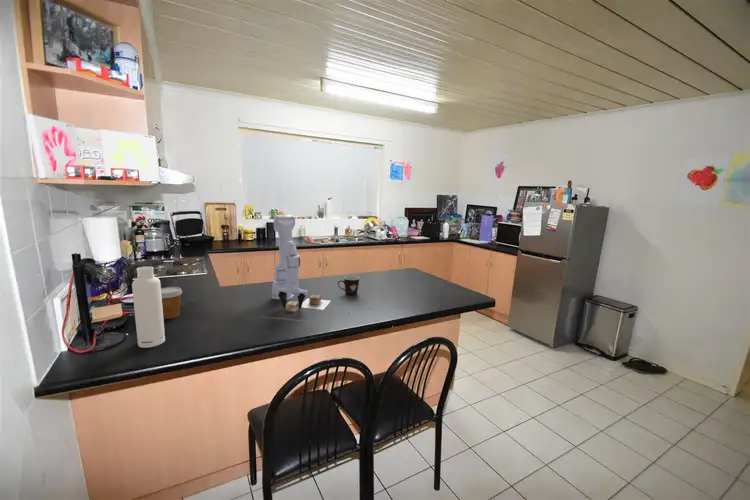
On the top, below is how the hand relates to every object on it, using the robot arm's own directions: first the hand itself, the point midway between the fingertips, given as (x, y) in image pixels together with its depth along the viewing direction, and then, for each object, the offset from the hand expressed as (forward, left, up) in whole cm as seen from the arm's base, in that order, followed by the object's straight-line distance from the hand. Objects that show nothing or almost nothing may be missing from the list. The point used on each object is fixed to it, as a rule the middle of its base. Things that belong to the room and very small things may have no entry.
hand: (292, 307), depth 149 cm
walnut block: (+8, +10, -1) cm, 13 cm away
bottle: (-37, -41, -2) cm, 55 cm away
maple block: (0, 0, -2) cm, 2 cm away
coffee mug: (+21, +30, -2) cm, 37 cm away
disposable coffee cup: (-48, -19, -2) cm, 52 cm away
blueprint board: (+8, +10, -1) cm, 13 cm away
